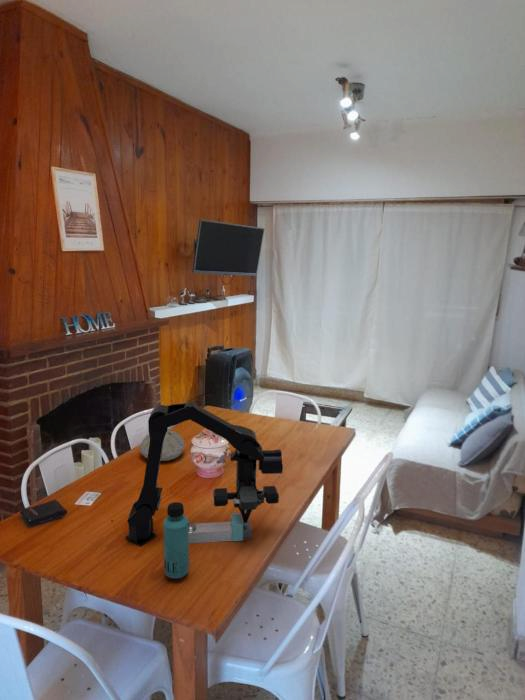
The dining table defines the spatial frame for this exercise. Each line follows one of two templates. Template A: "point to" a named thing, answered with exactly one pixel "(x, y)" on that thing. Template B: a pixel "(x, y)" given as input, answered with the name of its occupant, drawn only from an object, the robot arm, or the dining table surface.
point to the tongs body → (215, 533)
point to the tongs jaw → (218, 524)
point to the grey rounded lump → (166, 446)
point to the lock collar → (237, 527)
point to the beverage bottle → (176, 542)
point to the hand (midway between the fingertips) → (245, 522)
